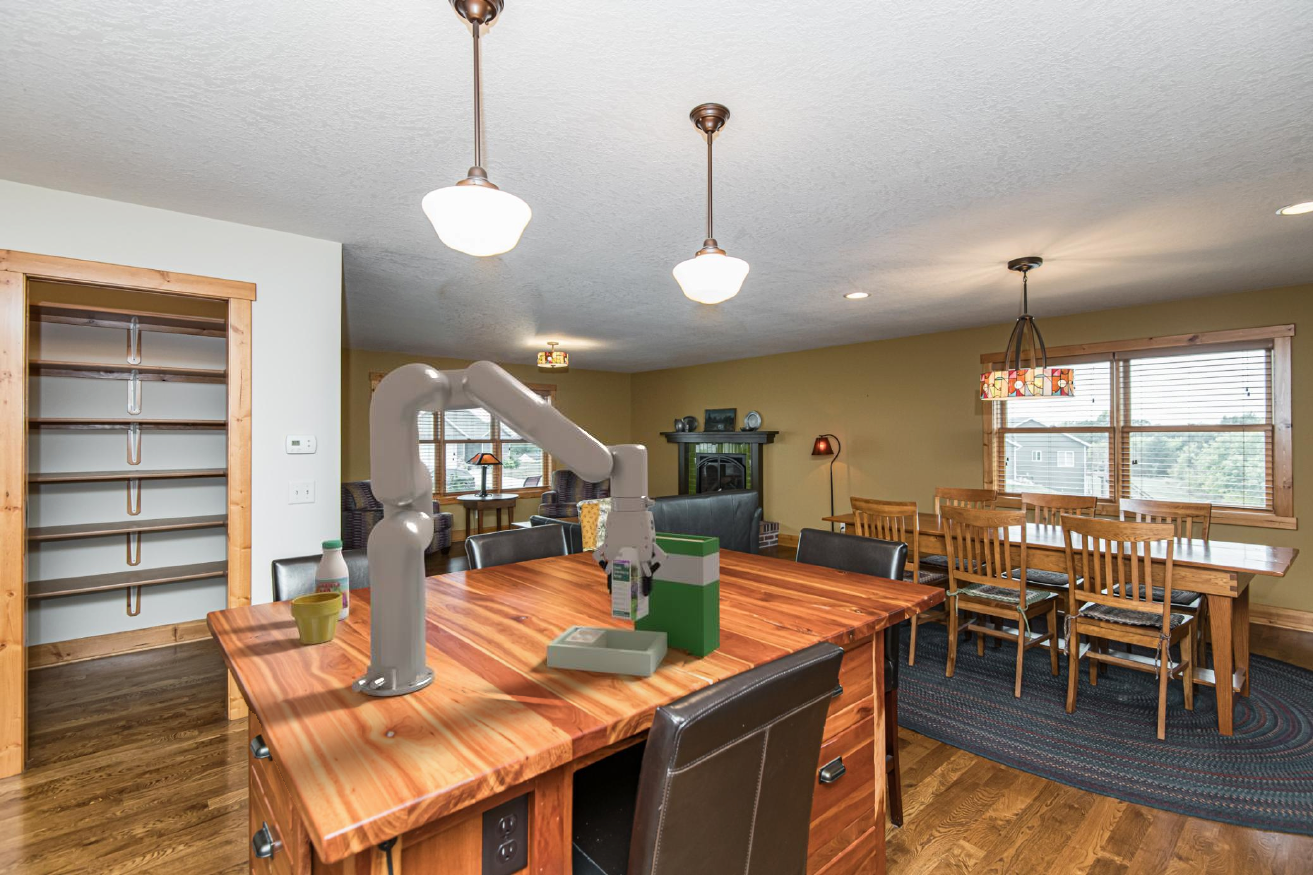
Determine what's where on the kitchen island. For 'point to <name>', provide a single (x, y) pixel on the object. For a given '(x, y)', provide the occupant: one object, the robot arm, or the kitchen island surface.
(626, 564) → the syrup box
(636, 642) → the tote
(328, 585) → the milk bottle
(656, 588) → the hardback book
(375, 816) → the kitchen island surface
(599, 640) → the white toy brick
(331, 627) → the plant pot
